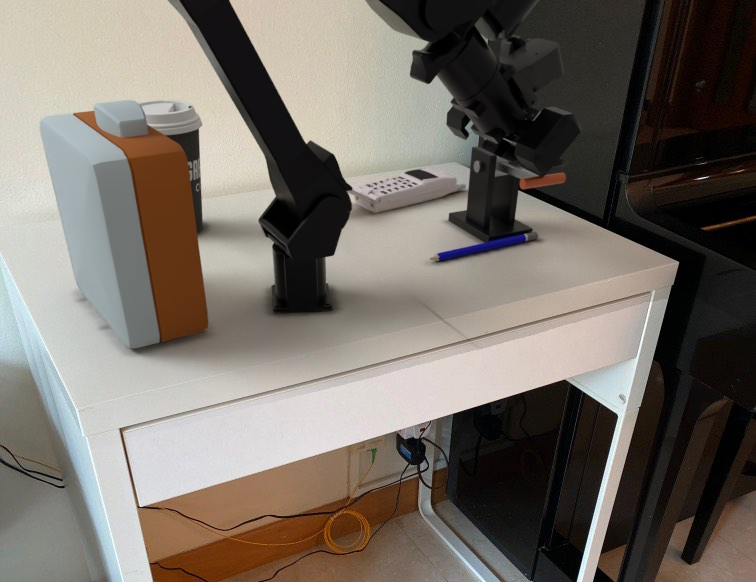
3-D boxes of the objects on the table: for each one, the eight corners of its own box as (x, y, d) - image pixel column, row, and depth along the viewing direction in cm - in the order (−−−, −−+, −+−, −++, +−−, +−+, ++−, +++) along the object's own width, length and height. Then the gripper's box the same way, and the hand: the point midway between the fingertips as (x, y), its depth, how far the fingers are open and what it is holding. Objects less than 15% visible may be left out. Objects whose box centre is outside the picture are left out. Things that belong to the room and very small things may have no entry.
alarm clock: (213, 335, 82) (185, 120, 69) (130, 356, 78) (85, 133, 65) (150, 274, 94) (116, 81, 81) (76, 290, 90) (28, 90, 77)
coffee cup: (192, 246, 101) (174, 119, 91) (127, 236, 103) (104, 111, 93) (226, 222, 108) (214, 102, 98) (165, 213, 110) (147, 95, 101)
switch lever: (564, 189, 96) (567, 168, 94) (524, 195, 94) (526, 174, 92) (508, 168, 105) (509, 149, 103) (470, 174, 102) (471, 154, 101)
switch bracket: (531, 237, 105) (543, 156, 98) (487, 245, 102) (496, 162, 96) (490, 214, 112) (498, 136, 105) (448, 221, 109) (453, 142, 103)
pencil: (533, 237, 104) (535, 230, 104) (538, 239, 104) (539, 232, 103) (427, 261, 98) (428, 253, 97) (431, 263, 97) (432, 256, 96)
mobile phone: (306, 170, 107) (445, 142, 119) (308, 214, 111) (442, 182, 123) (331, 182, 103) (472, 152, 115) (332, 227, 107) (468, 193, 119)
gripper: (582, 24, 75) (645, 135, 86) (476, 0, 88) (542, 100, 99) (505, 121, 77) (575, 218, 88) (412, 84, 90) (483, 173, 101)
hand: (543, 173), depth 94 cm, fingers closed
